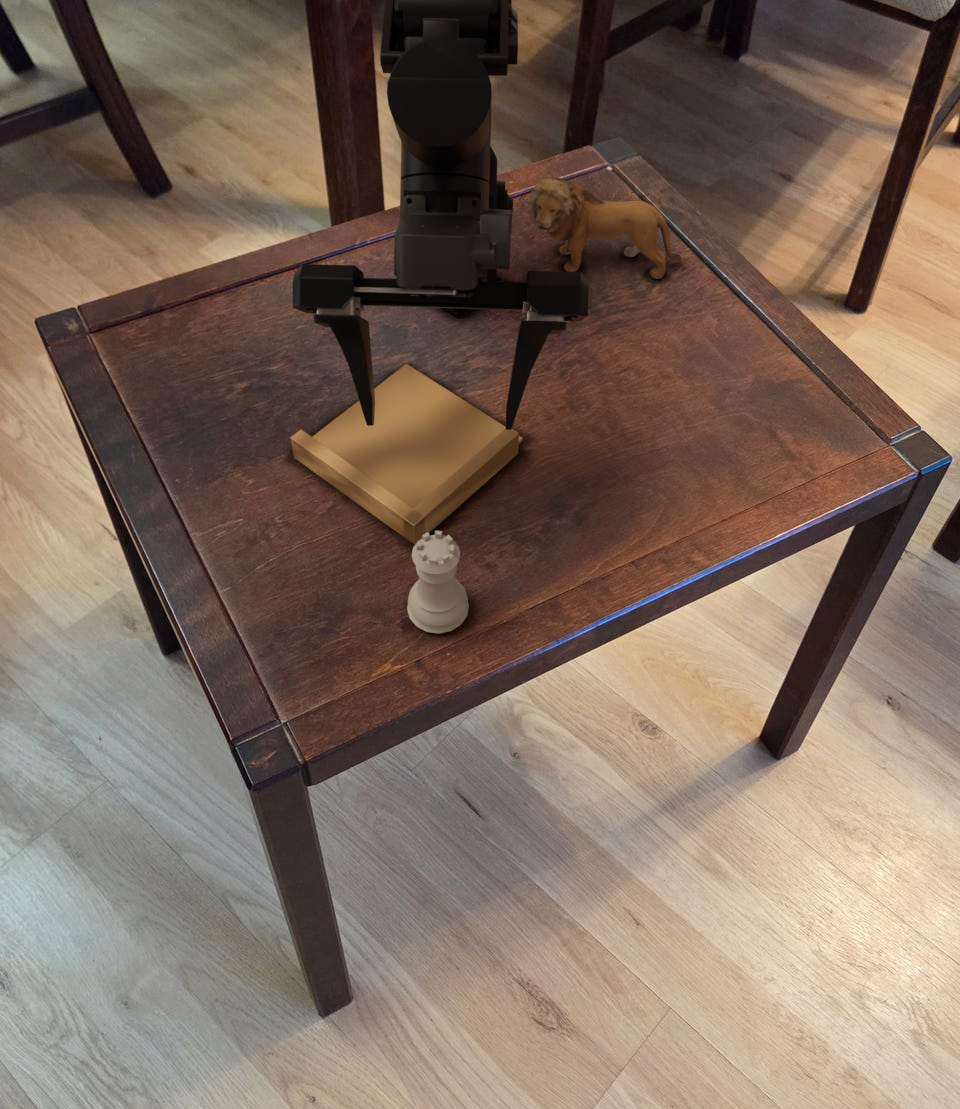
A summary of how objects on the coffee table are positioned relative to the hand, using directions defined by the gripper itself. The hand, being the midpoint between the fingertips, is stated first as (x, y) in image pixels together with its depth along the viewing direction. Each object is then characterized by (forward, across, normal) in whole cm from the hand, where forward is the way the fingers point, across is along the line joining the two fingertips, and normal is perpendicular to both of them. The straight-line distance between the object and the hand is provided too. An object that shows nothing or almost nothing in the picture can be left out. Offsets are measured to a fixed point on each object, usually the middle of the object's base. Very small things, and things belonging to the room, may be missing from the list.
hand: (439, 427), depth 70 cm
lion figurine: (-14, +13, +32) cm, 37 cm away
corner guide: (+3, -3, +15) cm, 16 cm away
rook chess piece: (+14, 0, +4) cm, 14 cm away
